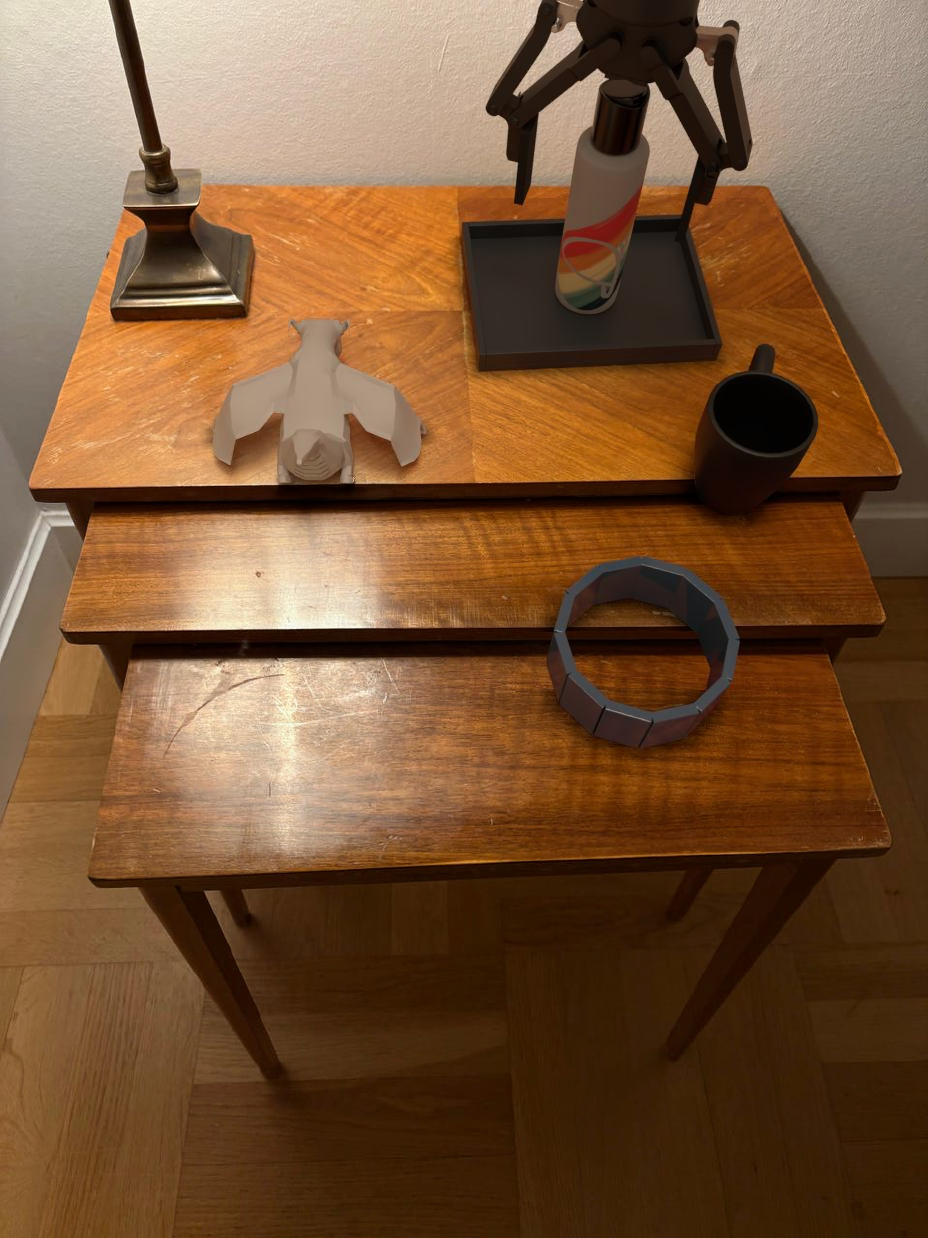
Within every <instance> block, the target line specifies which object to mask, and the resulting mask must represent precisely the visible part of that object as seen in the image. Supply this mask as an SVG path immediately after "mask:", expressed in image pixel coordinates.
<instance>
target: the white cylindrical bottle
mask: <svg viewBox="0 0 928 1238" xmlns="http://www.w3.org/2000/svg"><path fill="white" fill-rule="evenodd" d="M649 85H650V84H647V87H644V86H639V85H635V84H633V83H631V82H629V81H627V80H612V79H605V80H604V81H603V82H601V84H600V85H599V87H598V89H597V96H596V103H595V108H594V113H593V120H592V125H590V126H589V127H587V128H586V129H584V131H582V133H580V135H579V137H578V140H577V144H576V149H575V155H574V160H573V166H572V174H571V180H570V186H569V191H568V192H569V193H568V197H567V198H568V199H567V205H566V211H565V217H564V218H565V224H564V230H563V237H562V243H561V249H560V256H559V262H558V269H557V276H556V284H555V291H556V296H557V298H558V300H559V301H560V303H561V304H562V305H563V306H564V307H566V308H567V309H569V310H571V311H573V312H576V313H579V314H587V315H589V314H597V313H600V312H603V311H605V310H607V309H608V308H609V307H610V306H611V305H612V304H613V303H614V301H615V299H616V296H617V293H618V289H619V285H620V281H621V276H622V272H623V268H624V264H625V259H626V255H627V251H628V246H629V242H630V238H631V234H632V229H633V225H634V221H635V216H637V211H638V207H639V204H640V198H641V194H642V190H643V187H644V181H645V178H646V172H647V168H648V164H649V159H650V153H651V149H650V147H651V146H650V144H649V141H648V139H647V138H646V136H645V135H644V134H643V131H644V126H645V121H646V117H647V112H648V108H649V103H650V98H651V88H650V86H649Z"/></svg>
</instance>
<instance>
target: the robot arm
mask: <svg viewBox="0 0 928 1238" xmlns="http://www.w3.org/2000/svg"><path fill="white" fill-rule="evenodd" d="M700 2H701V0H541V1H540V3H539V6H538V9H537V14H536V17H535V22H534V23H533V26H532V27H531V29H530V31H528V34H527V35H526V37H525V38H524V39H523V41H522V43H521V44H520V46H519V48H518V49H517V51H516V52H515V53H514V55H513V57H512V59H511V60H510V61H509V63H508V64H507V66H506V67H505V69H504V70H503V72H502V73H501V75H500V77H499V78H498V80H497V82H496V83H495V84H494V87H493V89H492V91H491V93H490V95H489V98H488V100H487V103H486V104H485V111H486V113H487V114H488V116H491V117H498V116H499V117H501V118H502V119H504V121H506V123H507V138H506V150H505V156H506V159H507V161H509V162H513V163H517V167H516V177H515V186H514V187H515V188H514V196H513V197H514V198H513V204H515V205H519V206H522V207H523V206H524V203H525V200H526V198H527V196H528V193H529V191H530V188H531V185H532V180H533V179H532V177H533V171H534V170H533V169H534V159H535V151H536V143H537V134H538V126H539V125H538V124H539V116H540V113H541V112H542V111H543V110H544V109H546V108H547V107H548V106H549V105H551V104H552V103H553V102H554V101H556V100H557V99H558V98H560V97H561V96H562V95H563V94H564V93H566V92H567V91H568V90H569V89H570V88H572V87H573V86H575V84H577V83H578V82H583V81H584V80H586V79H587V77H589V76H590V75H592V74H593V73H594V72H596V70H598V71H599V72H600V73H602V74H603V75H604V76H603V78H604V79H606V80H608V79H612V80H627V81H629V82H631V83H633V84H635V85H639V86H644V87H647V84H648V85H650V84H653V83H655V85H656V87H657V89H658V90H659V92H660V94H661V96H662V99H664V100H665V101H668V102H669V104H670V107H671V108H672V109H673V111H674V113H675V115H676V117H677V119H678V121H679V123H680V124H681V126H682V128H683V130H684V131H685V133H686V135H687V137H688V139H689V141H690V142H691V143H690V144H691V145H692V147H693V148H694V150H695V152H696V154H697V155H698V156H697V159H696V163H695V166H694V170H693V173H692V176H691V181H690V184H689V188H688V191H687V195H686V198H685V200H684V201H685V202H684V206H683V209H682V213H681V214H682V216H681V219H680V223H679V226H678V230H677V233H676V237H675V241H676V242H680V243H684V239H685V236H686V233H687V229H688V226H689V227H690V222H691V219H692V215H693V211H694V210H695V209H694V208H695V206H696V205H697V204H698V205H701V206H706V207H707V206H708V205H709V204H710V203H711V202H712V199H713V197H714V193H715V190H716V188H717V187H716V186H717V183H718V181H719V177H720V176H721V175H720V174H721V173H722V172H723V171H724V170H727V169H733V170H734V171H735V172H743V171H745V170H746V169H747V167H748V166H749V162H750V158H751V152H752V149H753V144H754V142H753V137H752V131H751V125H750V120H749V116H748V111H747V106H746V105H747V104H746V101H745V97H744V96H745V95H744V90H743V85H742V79H741V75H740V70H739V65H738V64H739V63H738V59H737V49H738V42H739V37H740V30H741V28H740V24H739V22H738V21H737V20H735V19H728V20H726V21H725V22H724V23H723V24H722V27H720V26H710V25H700V22H699V18H698V10H699V7H700ZM569 23H575V25H576V29H577V31H578V33H579V35H580V37H581V39H582V40H581V41H580V42H579V43H578V45H576V47H575V48H574V49H573V50H572V51H571V52H569V53H568V54H567V55H566V56H565V57H563V58H562V59H561V60H560V61H559V62H557V63H556V64H555V65H554V66H553V67H552V68H551V69H549V70H548V71H547V72H546V73H544V74H543V75H542V76H541V77H540V78H538V79H537V80H536V81H535V82H534V83H533V84H532V85H530V86H529V87H528V88H526V89H525V90H524V91H519V92H518V94H517V95H516V94H515V92H516V90H517V88H518V87H519V85H520V84H521V82H523V80H524V78H525V77H526V75H527V74H528V72H529V71H530V69H531V68H532V66H533V65H534V63H535V62H536V60H537V59H538V57H539V56H540V54H541V53H542V51H543V50H544V49H545V47H546V45H547V43H548V41H549V39H550V36H551V34H557V33H560V32H563V30H564V29H565V28H566V26H567V25H568V24H569ZM695 48H696V49H699V50H700V51H701V52H702V53H703V60H704V61H705V62H706V65H707V66H708V67H712V69H713V70H712V80H713V81H712V82H713V87H714V90H715V96H716V100H717V104H718V109H719V110H718V111H719V115H720V119H721V124H722V128H723V133H724V136H723V135H722V132H721V131H720V129H719V126H718V125H717V122H716V121H715V118H714V117H713V115H712V113H711V111H710V109H709V107H708V105H707V103H706V102H705V100H704V97H703V95H702V94H701V92H700V89H699V88H698V86H697V84H696V82H695V80H694V79H693V77H692V74H691V72H690V71H691V70H690V65H689V63H688V60H687V57H688V56H689V55H690V54H691V53H692V52H693V51H694V50H695ZM724 137H725V138H724ZM695 204H696V205H695Z"/></svg>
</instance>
